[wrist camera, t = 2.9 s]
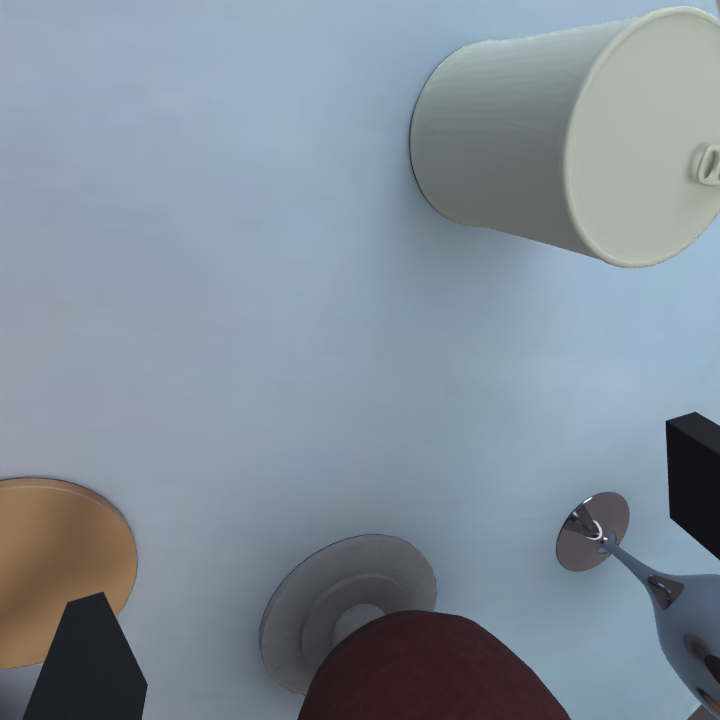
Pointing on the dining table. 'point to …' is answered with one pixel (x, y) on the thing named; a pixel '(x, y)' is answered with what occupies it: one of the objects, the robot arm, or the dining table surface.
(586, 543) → the wine glass
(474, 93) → the can
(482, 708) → the mate gourd
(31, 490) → the coaster
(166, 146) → the dining table surface
